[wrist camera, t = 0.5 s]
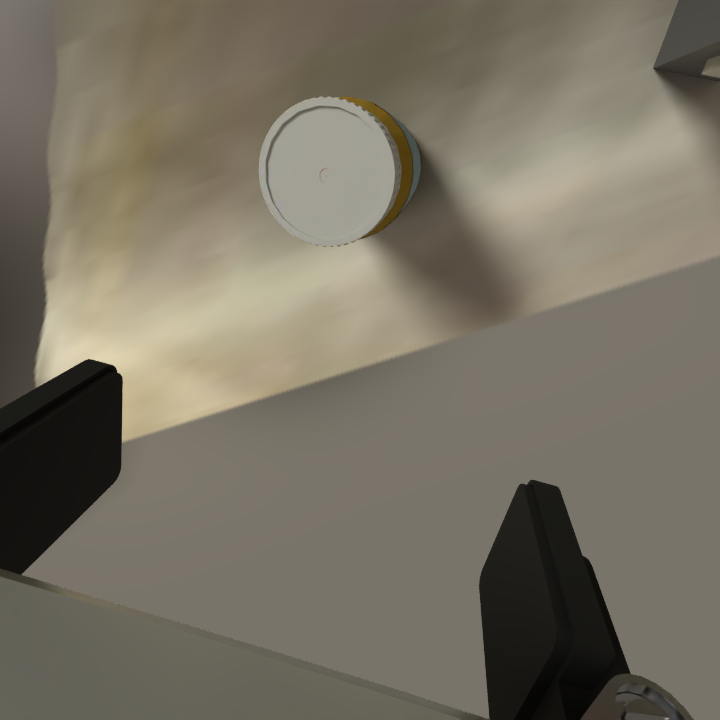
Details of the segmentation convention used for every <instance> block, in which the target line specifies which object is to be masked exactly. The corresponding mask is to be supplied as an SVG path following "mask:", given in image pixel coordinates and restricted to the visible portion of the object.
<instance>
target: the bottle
mask: <svg viewBox="0 0 720 720" xmlns="http://www.w3.org/2000/svg"><path fill="white" fill-rule="evenodd" d="M420 173H421V163H420V153H419V150H418V147H417V144H416V141H415V139H414V137H413V136H412V134H411V133H410V132H409V130H408V129H407V128H406V127H405V125H403V124H402V123H401V122H400V121H399V120H397V119H396V118H394V117H393V116H392V115H390V114H389V113H388V112H386V111H385V110H383V109H382V108H380V107H379V106H377V105H376V104H374V103H371V102H369V101H365V100H361V99H357V98H353V97H341V98H337V97H336V98H332V97H327V98H324V97H319V98H311V99H310V100H304V101H303V102H301V103H297V104H296V105H295V106H293V107H290V109H288V110H287V111H285V112H284V113H283V114H282V115H281V116H280V117H279V118H278V119H277V120H276V122H275V123H274V124H273V126H272V127H271V129H270V130H269V132H268V134H267V136H266V138H265V140H264V143H263V146H262V149H261V154H260V160H259V179H260V186H261V190H262V193H263V196H264V199H265V202H266V204H267V206H268V208H269V210H270V211H271V213H272V214H273V216H274V217H275V219H276V220H277V221H278V222H279V223H280V224H281V225H282V226H283V227H284V228H285V229H286V230H287V231H288V232H290V233H291V234H292V235H294V236H295V237H297V238H299V239H301V240H303V241H306V242H308V243H310V244H315V245H321V246H325V247H326V246H330V247H333V246H341V245H343V244H344V245H347V244H348V243H350V242H352V243H353V242H355V241H356V240H357V239H358V240H359V239H363V238H366V237H368V236H370V235H373V234H375V233H377V232H379V231H381V230H382V229H384V228H385V227H386V226H387V225H388V224H390V223H391V222H392V221H393V220H394V219H395V218H396V217H397V216H398V215H399V213H400V212H401V211H402V210H403V208H404V207H405V206H406V204H407V203H408V202H409V200H410V199H411V197H412V195H413V194H414V192H415V190H416V188H417V185H418V181H419V177H420Z"/></svg>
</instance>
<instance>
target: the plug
mask: <svg viewBox="0 0 720 720" xmlns="http://www.w3.org/2000/svg"><path fill="white" fill-rule="evenodd" d="M653 68H654V69H659V70H665V71H670V72H675V73H680V74H685V75H691V76H696V77H701V78H706V79H711V80H716V81H720V0H679V1H678V4H677V7H676V9H675V12H674V15H673V17H672V20H671V23H670V25H669V28H668V30H667V33H666V36H665V38H664V41H663V44H662V46H661V49H660V52H659V54H658V57H657V60H656V62H655V65H654V67H653Z"/></svg>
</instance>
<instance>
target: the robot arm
mask: <svg viewBox="0 0 720 720" xmlns="http://www.w3.org/2000/svg"><path fill="white" fill-rule="evenodd" d="M122 384H123V380H122V376H121V375H120V374H119V373H117V370H116V367H114V366H113V365H110V364H106V363H102V362H99V361H95V360H91V359H88V360H85V361H83V362H81V363H80V364H78V365H76V366H74V367H73V368H71V369H69V370H67V371H66V372H64V373H62V374H60V375H58V376H57V377H55V378H53V379H51V380H50V381H48V382H46V383H44V384H43V385H41V386H39V387H37V388H36V389H34V390H32V391H30V392H29V393H27V394H25V395H23V396H22V397H20V398H18V399H16V400H15V401H13V402H11V403H9V404H8V405H6V406H5V407H3V408H1V409H0V720H489V719H486V718H483V717H480V716H477V715H474V714H471V713H468V712H465V711H462V710H459V709H456V708H453V707H450V706H447V705H443V704H441V703H437V702H435V701H431V700H429V699H425V698H422V697H419V696H416V695H413V694H410V693H407V692H404V691H401V690H398V689H395V688H391V687H388V686H385V685H382V684H378V683H375V682H372V681H369V680H366V679H362V678H359V677H356V676H353V675H349V674H346V673H343V672H340V671H337V670H333V669H330V668H327V667H324V666H321V665H317V664H314V663H311V662H308V661H304V660H301V659H298V658H294V657H292V656H288V655H285V654H282V653H279V652H275V651H272V650H269V649H266V648H262V647H259V646H256V645H252V644H249V643H246V642H243V641H239V640H235V639H233V638H229V637H226V636H223V635H220V634H216V633H213V632H210V631H207V630H203V629H200V628H197V627H193V626H190V625H187V624H183V623H180V622H177V621H174V620H170V619H167V618H163V617H160V616H157V615H154V614H150V613H147V612H144V611H140V610H137V609H134V608H130V607H127V606H124V605H120V604H117V603H114V602H111V601H107V600H104V599H100V598H97V597H94V596H90V595H87V594H84V593H80V592H77V591H73V590H70V589H67V588H63V587H60V586H57V585H53V584H50V583H46V582H43V581H40V580H36V579H33V578H30V577H26V576H23V575H21V574H22V573H23V572H24V571H25V570H26V569H27V568H28V567H29V566H30V565H31V564H32V563H33V562H35V561H36V560H37V559H38V558H39V556H41V555H42V554H43V553H44V552H45V551H46V550H47V549H48V548H49V546H51V545H52V544H53V543H54V542H55V541H56V540H57V539H58V538H59V537H60V536H61V535H62V534H63V533H64V532H65V531H66V530H67V529H68V528H69V527H70V526H71V525H72V524H73V523H74V522H75V521H76V520H77V519H78V518H79V517H80V516H81V515H82V514H83V513H84V512H85V511H86V510H87V509H88V508H89V507H90V506H91V505H92V504H93V503H94V502H95V501H96V500H97V499H98V498H99V497H100V496H101V495H102V494H103V493H104V492H105V491H106V490H107V489H108V488H109V487H110V486H111V485H112V484H113V483H114V482H115V481H116V479H117V478H118V476H119V473H120V470H121V444H122ZM479 590H480V603H481V616H482V628H483V641H484V652H485V653H484V654H485V667H486V679H487V690H488V691H487V692H488V703H489V718H490V720H694V719H693V718H692V717H691V715H690V714H689V713H688V712H687V710H686V709H685V708H684V707H683V706H682V705H681V704H680V703H679V702H678V701H677V700H676V699H675V698H674V697H673V696H672V695H671V694H670V693H668V692H667V691H666V690H664V689H663V688H662V687H660V686H659V685H657V684H656V683H654V682H652V681H650V680H648V679H646V678H643V677H641V676H637V675H632V674H630V671H629V668H628V665H627V662H626V660H625V657H624V654H623V651H622V648H621V646H620V643H619V640H618V637H617V635H616V632H615V629H614V626H613V623H612V621H611V618H610V615H609V612H608V609H607V606H606V604H605V601H604V598H603V596H602V593H601V590H600V587H599V584H598V581H597V579H596V576H595V573H594V570H593V567H592V565H591V563H590V561H589V560H588V559H587V558H586V557H584V556H582V553H581V550H580V548H579V544H578V542H577V539H576V536H575V533H574V530H573V527H572V524H571V521H570V518H569V515H568V512H567V509H566V506H565V504H564V500H563V498H562V495H561V492H560V489H559V488H558V487H557V486H553V485H550V484H546V483H542V482H539V481H535V480H530V482H529V483H528V484H527V485H525V484H520V485H519V486H518V488H517V490H516V493H515V495H514V497H513V499H512V502H511V504H510V507H509V509H508V511H507V514H506V516H505V518H504V520H503V523H502V525H501V527H500V530H499V532H498V534H497V537H496V539H495V541H494V544H493V546H492V548H491V551H490V553H489V555H488V558H487V560H486V562H485V565H484V567H483V569H482V572H481V576H480V583H479Z"/></svg>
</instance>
